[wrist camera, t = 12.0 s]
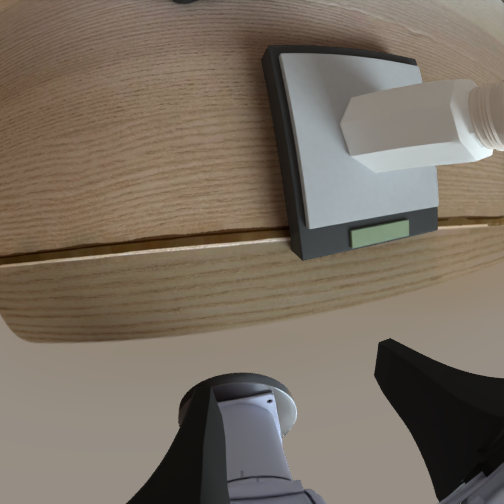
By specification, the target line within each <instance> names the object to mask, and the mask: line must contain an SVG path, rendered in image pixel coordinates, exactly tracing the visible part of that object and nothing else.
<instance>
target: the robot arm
mask: <svg viewBox="0 0 504 504" xmlns="http://www.w3.org/2000/svg"><path fill="white" fill-rule="evenodd" d="M374 376H375V378H376V380H377V382H378V384H379V386H380V388H381V390H382V392H383V393H384V395H385V396H386V398H387V399H388V401H389V402H390V403H391V405H392V406H393V408H394V409H395V410H396V412H397V413H398V415H399V416H400V417H401V419H402V420H403V422H404V423H405V425H406V426H407V428H408V429H409V431H410V432H411V434H412V436H413V438H414V440H415V442H416V444H417V446H418V448H419V450H420V452H421V454H422V457H423V459H424V461H425V464H426V466H427V469H428V471H429V474H430V477H431V480H432V483H433V486H434V489H435V493H436V497H437V499H438V500H439V503H438V504H460V503H461V502H462V501H463V502H462V503H461V504H504V378H494V377H487V376H482V375H476V374H472V373H469V372H465V371H462V370H458V369H455V368H453V367H450V366H447V365H445V364H442V363H440V362H438V361H435V360H433V359H431V358H429V357H427V356H425V355H423V354H420V353H418V352H416V351H414V350H412V349H410V348H408V347H407V346H405V345H403V344H401V343H399V342H397V341H395V340H393V339H391V338H389V339H387V340H384V341H381V342H379V344H378V352H377V359H376V366H375V373H374ZM270 399H271V400H270ZM126 504H326V502H325V501H324V499H323V498H322V497H321V496H320V495H319V494H317V493H316V492H315V491H313V490H312V489H303V487H302V484H301V481H300V480H296V481H293V479H292V476H291V473H290V469H289V466H288V463H287V460H286V457H285V453H284V450H283V447H282V438H281V432H280V426H279V420H278V415H277V409H276V403H275V397H274V394H273V393H272V392H266V393H261V394H257V395H252V396H247V397H242V398H236V399H231V400H225V401H219V402H217V401H216V398H215V396H214V393H213V390H212V388H211V385H210V386H204V387H197V388H195V389H194V392H193V395H192V398H191V401H190V404H189V407H188V409H187V412H186V415H185V417H184V419H183V422H182V424H181V426H180V429H179V431H178V433H177V435H176V437H175V439H174V441H173V443H172V445H171V447H170V449H169V450H168V452H167V454H166V455H165V457H164V458H163V460H162V462H161V463H160V465H159V466H158V467H157V469H156V470H155V472H154V473H153V474H152V476H151V477H150V478H149V480H148V481H147V482H146V483H145V485H144V486H143V487H142V488H141V489H140V490H139V491H138V492H137V493H136V494H135V495H134V496H133V497H132V499H131V500H129V501H128V502H127V503H126Z"/></svg>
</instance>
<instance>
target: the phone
mask: <svg viewBox="0 0 504 504" xmlns="http://www.w3.org/2000/svg"><path fill="white" fill-rule="evenodd" d="M173 1H174V2H176V3H181V4H185V3H191V2H194V1H197V0H173Z"/></svg>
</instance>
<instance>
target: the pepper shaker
mask: <svg viewBox="0 0 504 504" xmlns="http://www.w3.org/2000/svg"><path fill="white" fill-rule="evenodd" d="M340 127H341V130H342V133H343V136H344V139H345V142H346V145H347V148H348V151H349V154H350V157H352V158H354V159H355V160H357V161H358V162H360V163H361V164H363V165H364V166H366V167H367V168H369V169H370V170H372V171H373V172H375V173H378V172H386V171H393V170H401V169H409V168H418V167H426V166H436V165H446V164H457V163H467V162H473V161H478V160H481V159H483V158H486V157H489V156H491V155H492V152H493V149H496V150H499V151H504V80H502V81H501V82H499V83H497V84H495V83H491V84H487V85H483V86H481V87H478V86H477V85H476V84H475V83H474V82H473V80H470V79H454V80H441V81H433V82H426V83H420V84H414V85H408V86H402V87H397V88H392V89H387V90H382V91H377V92H373V93H369V94H364V95H360V96H356V97H352V98H351V99H350V101H349V104H348V106H347V108H346V111H345V113H344V115H343V117H342V120H341V122H340Z"/></svg>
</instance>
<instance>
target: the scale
mask: <svg viewBox="0 0 504 504" xmlns="http://www.w3.org/2000/svg"><path fill="white" fill-rule="evenodd" d="M261 60H262V65H263V70H264V75H265V80H266V86H267V91H268V96H269V102H270V107H271V113H272V118H273V124H274V130H275V136H276V142H277V148H278V154H279V161H280V167H281V173H282V180H283V187H284V194H285V201H286V208H287V215H288V222H289V230H290V238H291V246H292V251H293V252H294V253H295V254H296V255H297V256H298V257H299V258H300V259H301V260H308V259H313V258H317V257H322V256H327V255H331V254H336V253H340V252H345V251H349V250H354V249H358V248H363V247H367V246H372V245H376V244H380V243H385V242H389V241H393V240H398V239H402V238H406V237H411V236H415V235H419V234H423V233H427V232H432V231H436V230H437V229H438V211H437V206H438V183H437V169H436V166H426V167H418V168H409V169H401V170H393V171H386V172H378V173H375V172H373V171H372V170H370V169H369V168H367V167H366V166H364V165H363V164H361V163H360V162H358V161H357V160H355V159H354V158H352V157H350V154H349V151H348V148H347V145H346V142H345V139H344V136H343V133H342V130H341V127H340V122H341V120H342V117H343V115H344V113H345V111H346V108H347V106H348V104H349V101H350V99H351V98H352V97H356V96H360V95H364V94H369V93H373V92H377V91H382V90H387V89H392V88H397V87H402V86H408V85H414V84H420V83H423V82H422V78H421V74H420V70H419V67H418V66H417V63H416V60H415V59H412V58H407V57H402V56H397V55H392V54H387V53H381V52H374V51H368V50H360V49H351V48H341V47H328V46H305V45H278V46H268V47H267V49H266V51H265V53H264V55H263V57H262V59H261Z"/></svg>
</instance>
